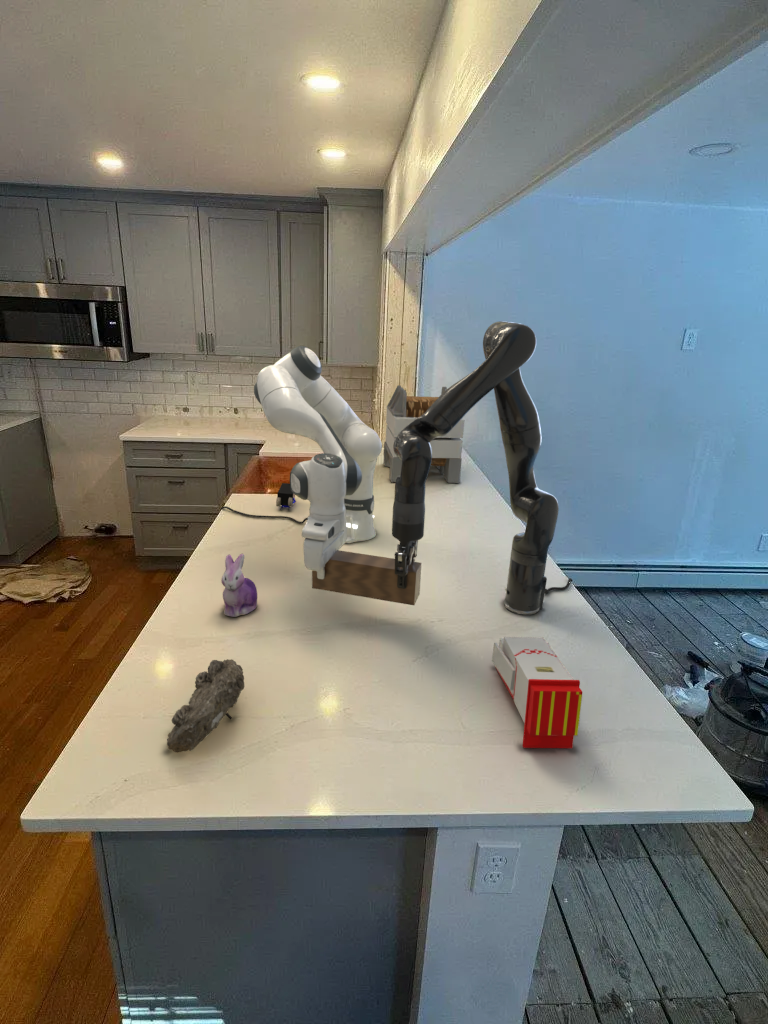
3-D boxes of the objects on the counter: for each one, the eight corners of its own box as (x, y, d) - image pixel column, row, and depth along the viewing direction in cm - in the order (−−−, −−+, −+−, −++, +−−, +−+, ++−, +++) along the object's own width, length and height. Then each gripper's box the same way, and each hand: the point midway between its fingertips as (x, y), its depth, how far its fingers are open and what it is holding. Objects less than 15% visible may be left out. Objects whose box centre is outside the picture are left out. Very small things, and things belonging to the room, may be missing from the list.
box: (312, 588, 143) (311, 556, 140) (320, 578, 148) (320, 547, 145) (414, 605, 136) (416, 572, 133) (419, 594, 142) (421, 562, 139)
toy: (540, 620, 128) (592, 687, 99) (535, 674, 131) (584, 755, 102) (487, 619, 128) (523, 686, 99) (483, 673, 131) (517, 754, 101)
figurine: (226, 621, 140) (223, 566, 135) (217, 603, 148) (214, 550, 143) (264, 614, 144) (262, 560, 139) (253, 596, 153) (251, 545, 148)
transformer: (382, 463, 289) (386, 382, 275) (445, 464, 293) (451, 384, 279) (390, 482, 257) (394, 392, 243) (460, 483, 261) (468, 394, 247)
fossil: (192, 660, 117) (244, 628, 112) (224, 691, 120) (276, 661, 115) (142, 746, 98) (202, 712, 93) (182, 779, 101) (242, 748, 96)
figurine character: (293, 515, 216) (298, 499, 229) (292, 497, 212) (297, 481, 226) (275, 515, 216) (281, 498, 229) (274, 497, 212) (280, 481, 226)
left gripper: (330, 506, 149) (330, 554, 154) (298, 533, 130) (299, 587, 135) (353, 509, 147) (352, 557, 152) (324, 537, 129) (323, 591, 133)
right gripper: (417, 530, 125) (413, 598, 131) (430, 509, 138) (426, 572, 144) (384, 525, 127) (382, 592, 133) (400, 505, 140) (397, 567, 146)
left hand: (326, 571), depth 143 cm, fingers closed on box, 6 cm apart
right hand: (405, 581), depth 138 cm, fingers closed on box, 6 cm apart
